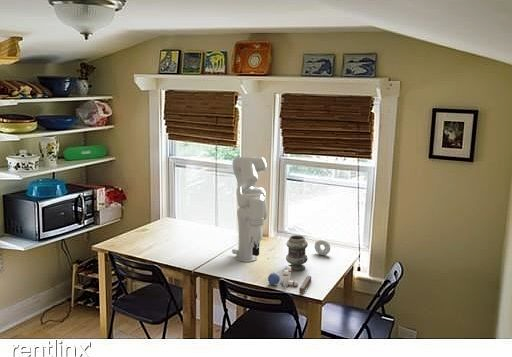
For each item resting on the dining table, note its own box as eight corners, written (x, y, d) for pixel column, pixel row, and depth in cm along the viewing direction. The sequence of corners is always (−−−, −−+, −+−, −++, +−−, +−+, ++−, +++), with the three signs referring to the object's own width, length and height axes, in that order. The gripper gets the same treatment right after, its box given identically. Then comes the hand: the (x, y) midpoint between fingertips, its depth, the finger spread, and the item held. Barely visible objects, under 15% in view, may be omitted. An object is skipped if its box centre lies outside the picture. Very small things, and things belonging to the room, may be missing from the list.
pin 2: (285, 283, 255) (285, 267, 253) (286, 281, 257) (287, 265, 255) (290, 283, 254) (290, 268, 252) (291, 281, 256) (291, 266, 255)
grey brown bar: (299, 293, 243) (299, 287, 243) (307, 281, 258) (307, 275, 257) (303, 294, 242) (303, 288, 242) (311, 281, 257) (311, 276, 257)
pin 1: (282, 287, 250) (282, 271, 248) (283, 285, 252) (284, 269, 251) (287, 287, 249) (287, 272, 248) (288, 285, 252) (289, 270, 250)
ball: (277, 288, 249) (268, 287, 253) (283, 280, 253) (274, 279, 257) (273, 278, 247) (264, 277, 251) (279, 271, 251) (270, 270, 255)
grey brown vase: (293, 262, 283) (294, 232, 279) (311, 267, 276) (312, 236, 272) (281, 268, 274) (282, 237, 270) (299, 274, 267) (300, 242, 263)
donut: (330, 255, 294) (331, 239, 292) (328, 257, 291) (329, 241, 289) (315, 252, 299) (316, 236, 297) (313, 254, 296) (313, 238, 294)
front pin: (280, 281, 252) (296, 283, 249) (282, 278, 254) (298, 280, 252) (281, 285, 253) (297, 287, 251) (282, 281, 255) (298, 284, 253)
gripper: (254, 216, 260) (253, 249, 264) (244, 224, 247) (243, 259, 251) (267, 218, 258) (267, 251, 262) (258, 226, 244) (257, 261, 248)
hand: (255, 255), depth 256 cm, fingers closed
